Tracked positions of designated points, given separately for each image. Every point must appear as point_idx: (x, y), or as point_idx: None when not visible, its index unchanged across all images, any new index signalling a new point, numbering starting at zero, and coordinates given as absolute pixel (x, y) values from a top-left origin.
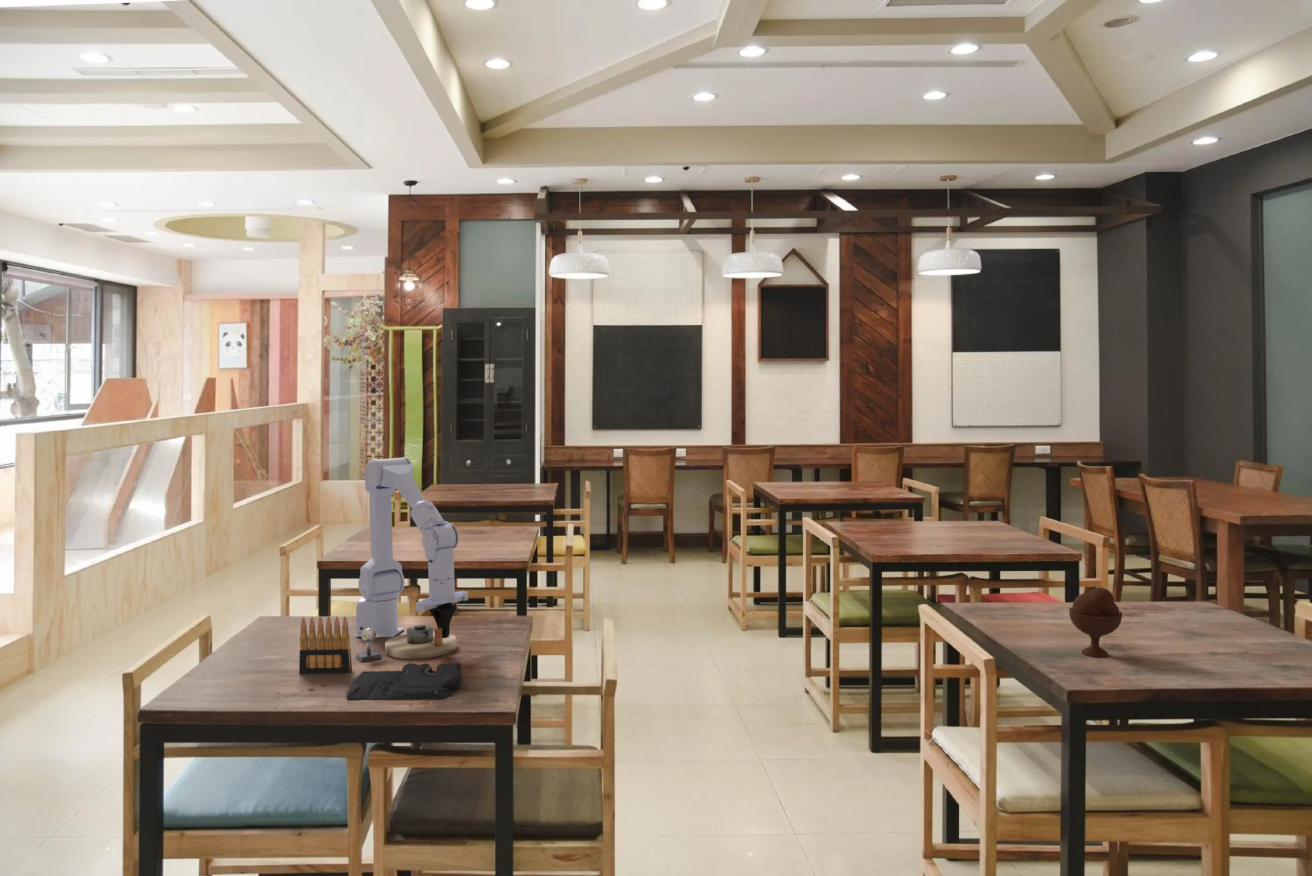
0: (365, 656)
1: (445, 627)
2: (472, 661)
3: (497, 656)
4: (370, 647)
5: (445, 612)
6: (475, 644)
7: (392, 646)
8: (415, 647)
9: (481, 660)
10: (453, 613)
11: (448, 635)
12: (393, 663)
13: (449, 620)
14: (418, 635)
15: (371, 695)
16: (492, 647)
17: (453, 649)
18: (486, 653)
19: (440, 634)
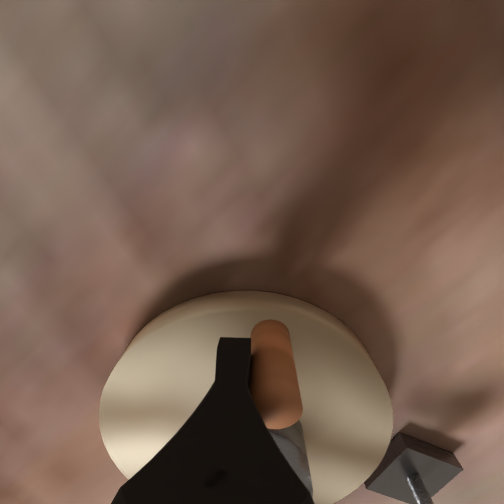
0: (450, 466)
1: (245, 383)
2: (277, 95)
3: (129, 30)
4: (423, 500)
5: (305, 496)
6: (62, 289)
7: (365, 461)
8: (342, 392)
9: (238, 60)
10: (163, 457)
11: (223, 342)
12: (436, 369)
13: (216, 410)
14: (298, 450)
15: None
16: (36, 188)
17: (194, 300)
18: (127, 137)
19: (280, 362)
